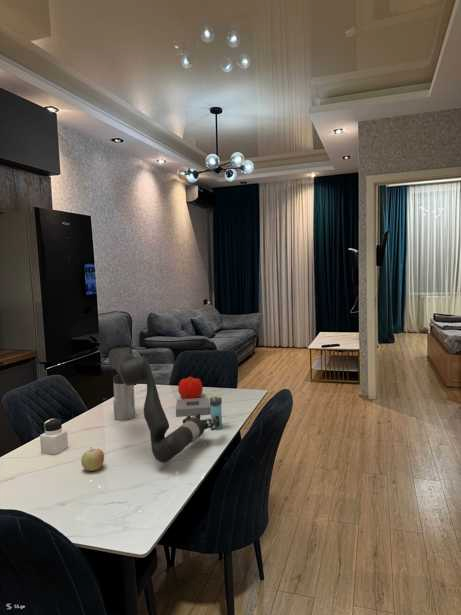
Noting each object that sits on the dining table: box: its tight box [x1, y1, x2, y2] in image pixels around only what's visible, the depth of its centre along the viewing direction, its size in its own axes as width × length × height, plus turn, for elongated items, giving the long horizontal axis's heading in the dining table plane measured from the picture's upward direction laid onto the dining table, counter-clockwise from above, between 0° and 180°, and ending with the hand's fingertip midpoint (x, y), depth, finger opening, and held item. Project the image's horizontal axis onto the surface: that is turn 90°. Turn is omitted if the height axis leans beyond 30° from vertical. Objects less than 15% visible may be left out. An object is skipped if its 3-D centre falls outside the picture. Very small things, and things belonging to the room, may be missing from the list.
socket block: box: [175, 397, 211, 418], centre depth 206 cm, size 16×16×4 cm
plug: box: [209, 396, 223, 431], centre depth 181 cm, size 5×5×14 cm
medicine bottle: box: [39, 418, 69, 456], centre depth 163 cm, size 7×7×12 cm
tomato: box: [177, 376, 204, 399], centre depth 228 cm, size 14×13×10 cm
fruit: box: [80, 447, 105, 472], centre depth 146 cm, size 8×7×8 cm
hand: (208, 416), depth 174 cm, fingers open, 8 cm apart
